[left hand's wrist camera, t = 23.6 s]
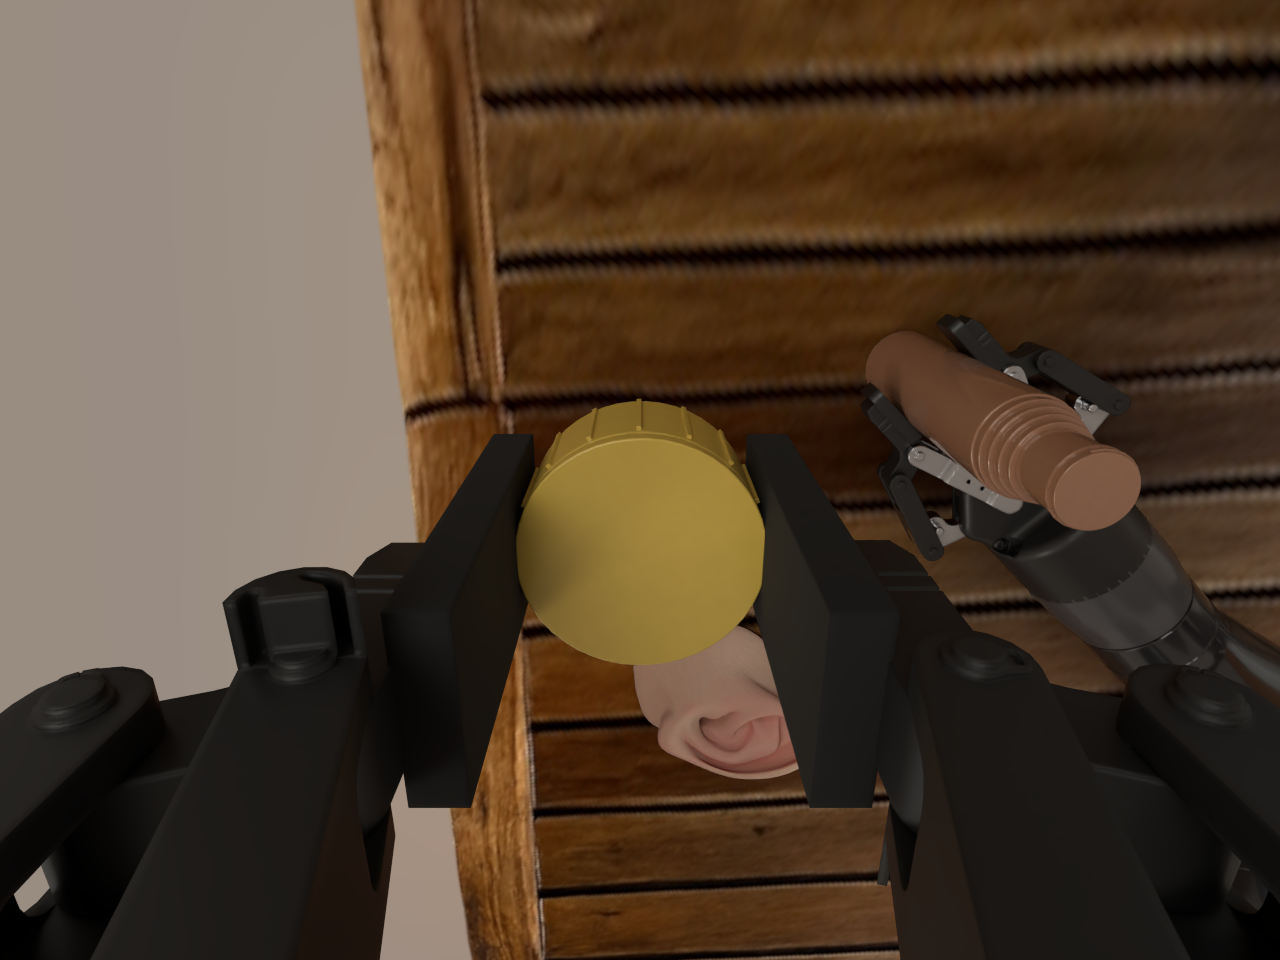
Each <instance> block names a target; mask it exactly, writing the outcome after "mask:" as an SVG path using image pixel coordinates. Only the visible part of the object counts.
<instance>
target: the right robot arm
mask: <svg viewBox="0 0 1280 960" xmlns="http://www.w3.org/2000/svg"><path fill="white" fill-rule="evenodd" d="M936 325H937V326H938V328H939V329H940V330H941V331H942V332H943V333H944V334H945V336H946V337H947V338H948V339H949V340H950V341H951V343H952V344H953V345H954V346H955V347H956V348H957V349H958V351H959V352H961V353H964V354H966V355H968V356H970V357H972V358H974V359H976V360H978V361H980V362H983V363H985V364H987V365H989V366H991V367H993V368H995V369H997V370H1000V371H1002V372H1004V373H1006V374H1008V375H1010V376H1012V377H1014V378H1016V379H1019V380H1021V381H1023V382H1025V383H1027V384H1028V382H1027V378H1029V377H1032V376H1034V375H1036V374H1039V375H1041V376H1043V377H1044V378H1046V379H1048V380H1049V381H1051V382H1052V383H1054V384H1056V385H1057V386H1059V387H1061V388H1062V389H1064V390H1066V391H1067V392H1069V394H1067V395H1066V397H1065V399H1066V404H1068V405H1069V406H1070V407H1071V408H1072V409H1074V410H1075V411H1076V412H1077V413H1078V415H1079V416H1080V417H1081V419H1082V421H1083V422H1084V423H1085V425H1086V427H1087V428H1088V429H1089V431H1090V433H1091V434H1092V435H1093V433H1094V432H1095V431H1096V430H1097V428H1098V427H1099V426H1100V425H1101V424H1102V422H1103V421H1104V420H1105V419H1106V417H1107V416H1108V415H1109V414H1111V415H1114V416H1118V415H1121V414H1123V413H1125V412H1126V411H1127V410H1128V408H1129V406H1130V399H1129V397H1128V396H1127V395H1125V394H1124V393H1122V392H1121V391H1119V390H1117V389H1116V388H1114V387H1113V386H1111V385H1109V384H1108V383H1106V382H1105V381H1103V380H1101V379H1100V378H1098V377H1097V376H1095V375H1093V374H1092V373H1090V372H1089V371H1087V370H1085V369H1084V368H1082V367H1081V366H1079V365H1077V364H1076V363H1074V362H1073V361H1071V360H1069V359H1068V358H1066V357H1064V356H1063V355H1061V354H1060V353H1058V352H1056V351H1054V350H1051V349H1049V348H1046V347H1043V346H1040V345H1038V344H1035V343H1032V342H1025V343H1023V344H1021V345H1020V346H1019V347H1018V348H1017V350H1015V351H1012V352H1010V353H1006V352H1005V351H1004V350H1003V349H1002V347H1001V346H1000V345H999V344H998V343H997V341H996V340H995V339H994V338H993V337H992V336H991V334H990V333H989V332H988V331H987V330H986V328H985V327H984V326H983V325H982V324H981V323H980V322H978V321H975V320H973V319H971V318H968V317H965V316H962V315H960V316H959V317H958V318H956V317H954V316H951V315H948V314H946V315H945V316H944V317H942V318H941V319H940V320H939V321H938V322H937V323H936ZM861 392H862V393H863V394H864V395H865V397H866V398H867V399H866V400H865V401H863V402H862V403H861V404H860V405H861V408H862V411H863V413H864V414H865V415H866V416H867V417H868V418H869V419H870V420H871V421H872V423H873V424H874V425H875V426H876V427H877V428H878V429H879V430H880V431H881V432H882V433H883V434H884V435H885V436H886V437H887V438H888V439H889V441H890V442H891V444H892V453H891V455H890V457H889V458H888V460H887V461H885V462H883V463H881V464H880V465H879V467H878V469H877V474H878V476H879V478H880V480H881V482H882V484H883V486H884V488H885V490H886V492H887V494H888V496H889V498H890V500H891V502H892V504H893V506H894V508H895V510H896V512H897V514H898V516H899V518H900V520H901V522H902V524H903V526H904V528H905V530H906V532H907V534H908V536H909V538H910V540H911V541H912V542H913V544H914V545H915V546H916V548H917V549H918V550H919V551H920V553H921V554H922V555H923V556H924V558H925V559H927V560H929V561H935V560H938V559H940V558H941V557H942V555H943V553H944V546H946V545H948V544H950V543H952V542H954V541H957V540H959V539H961V538H963V537H965V536H966V537H967V538H969V539H971V540H975V541H979V542H981V543H983V544H985V545H986V546H987V547H988V548H989V549H990V550H991V551H992V552H993V553H994V555H995V556H996V557H997V558H998V559H999V560H1000V561H1001V562H1002V563H1003V564H1004V565H1005V566H1006V567H1007V568H1008V569H1009V570H1010V571H1011V573H1012V574H1013V575H1014V576H1015V577H1016V578H1017V579H1018V580H1019V581H1020V582H1021V583H1022V584H1023V585H1024V586H1025V587H1026V588H1027V589H1028V591H1029V593H1030V594H1031V595H1032V597H1033V598H1034V599H1035V600H1036V601H1038V602H1040V603H1041V604H1042V605H1043V606H1044V607H1045V608H1046V609H1047V611H1048V612H1049V613H1050V614H1051V615H1052V616H1054V617H1055V618H1056V619H1057V620H1058V621H1059V622H1060V623H1061V624H1063V625H1064V626H1065V627H1067V628H1068V629H1069V630H1071V631H1072V632H1073V633H1074V634H1076V635H1077V636H1078V637H1079V638H1080V639H1081V640H1082V641H1083V642H1084V643H1085V644H1086V645H1087V646H1088V647H1089V648H1090V650H1091V651H1092V652H1093V653H1094V654H1095V655H1096V656H1097V657H1098V658H1099V659H1100V660H1101V662H1102V663H1103V664H1104V665H1105V666H1106V667H1107V668H1108V669H1109V670H1110V671H1111V672H1112V673H1113V674H1114V675H1115V676H1116V677H1117V678H1119V679H1120V680H1121V681H1123V682H1124V683H1125V684H1126V683H1127V680H1128V676H1129V674H1130V673H1132V672H1133V671H1134V670H1136V669H1137V668H1138V667H1139V666H1145V665H1151V664H1157V663H1163V664H1174V665H1189V666H1194V667H1199V669H1201V670H1202V669H1207V670H1210V671H1214V672H1217V673H1219V674H1221V675H1223V676H1224V677H1226V678H1228V679H1230V680H1233V681H1235V682H1238V683H1240V684H1242V685H1245V686H1246V687H1248V688H1250V689H1251V690H1253V691H1255V692H1256V693H1258V694H1259V695H1261V696H1263V697H1264V698H1266V699H1268V700H1269V701H1271V702H1272V703H1273V704H1275V705H1276V706H1277V707H1278V708H1280V646H1279V645H1277V644H1275V643H1274V642H1272V641H1270V640H1269V639H1267V638H1265V637H1263V636H1262V635H1260V634H1258V633H1257V632H1255V631H1253V630H1251V629H1250V628H1248V627H1246V626H1245V625H1243V624H1241V623H1240V622H1238V621H1237V620H1235V619H1234V618H1232V617H1230V616H1228V615H1227V614H1225V613H1223V612H1221V611H1220V610H1218V609H1217V608H1216V607H1215V606H1214V605H1213V603H1212V602H1211V601H1210V600H1209V599H1208V598H1207V597H1206V595H1205V594H1204V593H1203V592H1202V591H1201V589H1200V588H1199V587H1198V586H1197V585H1196V584H1195V582H1194V581H1193V580H1192V579H1191V578H1190V577H1189V575H1188V574H1187V573H1186V572H1185V570H1184V569H1183V567H1182V566H1181V564H1180V562H1179V560H1178V558H1177V557H1176V555H1175V553H1174V552H1173V550H1172V549H1171V547H1170V546H1169V545H1168V543H1167V542H1166V541H1165V540H1164V538H1163V537H1162V536H1161V535H1160V534H1159V532H1158V531H1157V530H1156V529H1155V528H1154V527H1153V525H1152V524H1151V523H1150V522H1149V521H1148V520H1147V518H1146V517H1145V516H1144V515H1143V514H1142V512H1141V511H1140V510H1139V509H1138V508H1137V507H1136V505H1135V504H1134V506H1133V507H1132V509H1131V510H1130V511H1129V512H1128V513H1127V514H1126V515H1125V516H1124V517H1123V518H1122V519H1120V520H1119V521H1118V522H1116V523H1114V524H1113V525H1110V526H1108V527H1106V528H1103V529H1099V530H1092V531H1084V530H1078V529H1073V528H1070V527H1067V526H1064V525H1062V524H1061V523H1060V522H1058V521H1057V520H1056V519H1054V518H1053V517H1052V515H1051V514H1050V512H1049V511H1048V510H1046V509H1045V508H1044V507H1042V506H1041V505H1040V504H1034V503H1029V502H1025V501H1019V500H1015V499H1010V498H1006V497H1004V496H1001V495H999V494H997V493H995V492H993V491H991V490H990V489H988V488H986V487H985V486H984V485H983V484H982V483H980V482H979V481H978V480H977V479H976V478H974V477H973V476H972V475H971V474H970V473H968V472H967V471H966V470H965V469H964V468H962V467H961V466H960V465H959V464H958V463H956V462H955V461H954V460H953V459H952V458H950V457H949V456H948V455H947V454H946V453H944V452H943V451H942V450H941V449H940V448H938V447H937V446H934V445H932V444H930V443H928V442H926V441H924V440H922V439H921V438H922V437H923V436H922V435H921V434H920V433H919V432H918V431H917V430H916V428H915V427H913V426H912V424H911V423H910V422H909V421H908V420H907V419H906V418H905V417H904V416H903V414H902V413H901V412H900V411H899V410H898V409H897V408H896V407H895V406H894V405H893V404H892V403H891V402H890V400H889V399H888V398H887V397H886V396H885V395H884V394H883V393H882V392H881V391H880V390H879V389H878V388H877V387H875V386H874V385H873V384H872V383H868V384H867V385H866V386H865V387H864V388H863V389H862V390H861ZM918 469H921V470H924V471H926V472H928V473H930V474H932V475H934V476H936V477H938V478H939V479H941V480H942V481H944V482H946V483H947V484H949V485H951V486H952V519H943V518H941V517H940V515H939V514H938V513H936V512H934V511H928V512H926V510H925V508H924V506H923V504H922V502H921V500H920V498H919V496H918V494H917V492H916V489H915V487H914V485H913V483H912V481H911V480H912V479H913V477H914V475H915V474H916V472H917V471H918ZM1232 886H1233V887H1234V888H1235V889H1236V890H1237V891H1238V892H1239V893H1240V895H1241V896H1242V897H1243V898H1244V899H1245V900H1246V901H1247V902H1249V903H1250V904H1251V905H1252V906H1253V907H1254V908H1256V909H1257V910H1259V909H1260V908H1261V907H1262V905H1263V903H1264V901H1265V898H1266V896H1267V893H1268V891H1269V890H1268V889H1267V888H1266V887H1265V886H1264V885H1263V884H1262V883H1261V882H1260V881H1259V880H1258V879H1257V878H1256V876H1255V875H1254V874H1253V873H1252V872H1251V871H1250V870H1249V869H1248V868H1247V867H1246V866H1245V865H1244V864H1243V863H1242V862H1241V863H1240V866H1239V868H1238V871H1237V873H1236V876H1235V878H1234V881H1233V883H1232Z"/></svg>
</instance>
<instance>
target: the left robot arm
mask: <svg viewBox="0 0 1280 960" xmlns="http://www.w3.org/2000/svg"><path fill="white" fill-rule="evenodd" d="M746 468H747V471H748V473H749V476H750V478H751V481H752V483H753V486H754V488H755V491H756V493H757V495H758V498H759V500H760V503H758V504H757V506H758V508H759V511H760V513H761V516H762V518H763V522H764V526H765V541H764V556H763V571H762V584H761V589H760V592H759V594H758V596H757V598H756V600H755V602H754V603H753V607H754V611H755V615H756V618H757V622H758V625H759V629H760V632H761V636H762V639H763V643H764V647H765V650H766V654H767V657H768V661H769V664H770V668H771V672H772V675H773V679H774V682H775V686H776V689H777V693H778V697H779V700H780V704H781V707H782V711H783V714H784V718H785V722H786V725H787V729H788V732H789V736H790V739H791V743H792V746H793V750H794V754H795V757H796V761H797V764H798V768H799V771H800V775H801V779H802V782H803V786H804V789H805V793H806V796H807V800H808V804H809V807H810V808H872V804H873V797H874V790H875V783H876V776H877V770H878V773H879V775H880V777H881V780H882V782H883V785H884V787H885V789H886V792H887V794H888V797H889V799H890V804H889V810H888V816H887V823H886V829H885V835H884V842H883V848H882V855H881V861H880V867H879V874H878V881H877V884H879V885H885V886H887V883H888V878H889V872H890V880H891V888H892V896H893V904H894V911H895V919H896V927H897V935H898V943H899V951H900V959H901V960H1280V708H1278V707H1277V706H1276V705H1275V704H1273V703H1272V702H1271V701H1269V700H1268V699H1266V698H1264V697H1263V696H1261V695H1259V694H1258V693H1256V692H1255V691H1253V690H1251V689H1250V688H1248V687H1246V686H1245V685H1242V684H1240V683H1238V682H1235V681H1233V680H1230V679H1228V678H1226V677H1224V676H1223V675H1221V674H1219V673H1217V672H1214V671H1210V670H1207V669H1202V670H1201V669H1199V667H1194V666H1189V665H1174V664H1163V663H1157V664H1151V665H1145V666H1139V667H1138V668H1137V669H1136V670H1134V671H1133V672H1132V673H1130V674H1129V676H1128V680H1127V683H1126V687H1125V690H1124V694H1123V697H1122V698H1119V697H1114V696H1109V695H1104V694H1098V693H1093V692H1088V691H1082V690H1077V689H1072V688H1067V687H1063V686H1059V685H1055V684H1051V683H1049V681H1048V679H1047V677H1046V675H1045V673H1044V671H1043V669H1042V668H1041V667H1040V666H1039V664H1038V663H1037V662H1036V661H1035V660H1034V659H1033V657H1032V656H1031V655H1030V654H1028V653H1027V652H1025V651H1024V650H1022V649H1020V648H1019V647H1017V646H1016V645H1014V644H1013V643H1011V642H1008V641H1006V640H1003V639H1001V638H998V637H995V636H993V635H990V634H987V633H982V632H977V631H973V630H972V629H971V628H970V626H969V625H968V624H967V622H966V621H965V620H964V619H963V617H962V616H961V615H960V613H959V612H958V611H957V610H956V608H955V607H954V606H953V605H952V603H951V602H950V601H949V599H948V598H947V597H946V596H945V594H944V593H943V592H942V591H939V587H938V585H937V584H936V583H935V581H934V580H933V579H932V578H931V576H928V572H927V571H926V570H925V569H924V567H923V566H922V565H921V563H920V562H919V561H918V560H917V558H916V557H915V556H914V555H913V554H911V553H909V552H908V551H906V550H904V549H903V548H901V547H899V546H898V545H896V544H894V543H893V542H891V541H889V540H854V539H853V538H852V536H851V535H850V533H849V531H848V530H847V528H846V527H845V525H844V524H843V522H842V520H841V519H840V517H839V516H838V514H837V513H836V511H835V509H834V508H833V506H832V505H831V503H830V502H829V500H828V498H827V497H826V495H825V494H824V492H823V491H822V489H821V487H820V486H819V484H818V483H817V481H816V480H815V478H814V476H813V475H812V473H811V472H810V470H809V469H808V467H807V465H806V464H805V462H804V461H803V459H802V458H801V456H800V454H799V453H798V451H797V450H796V448H795V447H794V445H793V443H792V442H791V440H790V439H789V437H788V436H787V434H747V449H746ZM534 472H535V459H534V441H533V434H494V435H493V436H492V438H491V439H490V441H489V443H488V444H487V446H486V447H485V449H484V450H483V452H482V454H481V455H480V457H479V458H478V460H477V462H476V463H475V465H474V466H473V468H472V469H471V471H470V473H469V474H468V476H467V477H466V479H465V480H464V482H463V484H462V485H461V487H460V488H459V490H458V491H457V493H456V495H455V496H454V498H453V499H452V501H451V502H450V504H449V506H448V507H447V509H446V510H445V512H444V513H443V515H442V517H441V518H440V520H439V521H438V523H437V524H436V526H435V528H434V529H433V531H432V532H431V534H430V535H429V537H428V539H427V540H426V542H425V543H390V544H389V545H387V546H385V547H384V548H382V549H380V550H379V551H377V552H375V553H374V554H372V555H371V556H369V557H367V558H366V559H365V561H364V562H363V563H362V565H361V566H360V567H359V568H358V570H357V571H356V572H355V574H354V575H353V577H352V576H351V575H349V574H348V573H347V572H345V571H342V570H337V569H333V568H328V567H303V568H297V569H291V570H286V571H280V572H277V573H273V574H270V575H267V576H264V577H261V578H258V579H255V580H253V581H251V582H250V583H248V584H246V585H244V586H242V587H240V588H238V589H236V590H235V591H234V592H233V593H232V594H231V595H230V596H229V597H228V598H227V599H226V600H225V601H224V602H223V607H224V611H225V616H226V620H227V624H228V629H229V633H230V637H231V642H232V646H233V650H234V654H235V659H236V663H237V667H238V671H237V673H236V675H235V677H234V679H233V681H232V683H231V684H230V686H229V687H227V688H223V689H219V690H215V691H210V692H205V693H200V694H194V695H189V696H184V697H179V698H173V699H168V700H163V701H159V699H158V695H157V692H156V688H155V685H154V681H153V678H152V677H151V676H149V675H148V674H147V673H146V672H144V671H143V670H141V669H134V668H128V667H111V668H95V669H90V670H84V671H83V672H82V673H79V672H76V673H73V674H70V675H66V676H64V677H62V678H60V679H59V680H57V681H55V682H52V683H50V684H48V685H45V686H43V687H41V688H38V689H36V690H35V691H33V692H31V693H30V694H28V695H27V696H25V697H23V698H22V699H20V700H19V701H17V702H15V703H14V704H12V705H11V706H10V707H8V708H7V709H6V710H4V711H3V712H2V713H0V960H380V953H381V945H382V937H383V929H384V921H385V913H386V905H387V897H388V889H389V882H390V874H391V865H392V858H393V850H394V842H395V830H394V823H393V817H392V810H391V802H392V799H393V797H394V794H395V792H396V789H397V787H398V785H399V782H400V780H401V777H402V775H403V773H404V780H405V787H406V793H407V800H408V807H409V808H471V805H472V802H473V798H474V795H475V791H476V787H477V784H478V780H479V777H480V773H481V770H482V766H483V762H484V759H485V755H486V752H487V748H488V745H489V741H490V737H491V734H492V730H493V727H494V723H495V720H496V716H497V712H498V709H499V705H500V702H501V698H502V695H503V691H504V687H505V684H506V680H507V677H508V673H509V670H510V666H511V663H512V659H513V655H514V652H515V648H516V645H517V641H518V638H519V634H520V630H521V627H522V623H523V620H524V616H525V613H526V609H527V605H528V600H527V599H526V597H525V595H524V592H523V590H522V587H521V585H520V582H519V577H518V564H517V548H516V534H517V529H518V524H519V521H520V518H521V515H522V513H523V510H524V508H523V507H521V505H522V502H523V499H524V497H525V494H526V492H527V489H528V487H529V484H530V482H531V479H532V477H533V474H534ZM1241 862H1242V863H1243V864H1244V865H1245V866H1246V867H1247V868H1248V869H1249V870H1250V871H1251V872H1252V873H1253V874H1254V875H1255V876H1256V878H1257V879H1258V880H1259V881H1260V882H1261V883H1262V884H1263V885H1264V886H1265V887H1266V888H1267V889H1268V890H1269V891H1268V893H1267V896H1266V898H1265V901H1264V903H1263V905H1262V907H1261V908H1260V909H1259V910H1257V909H1256V908H1254V907H1253V906H1252V905H1251V904H1250V903H1249V902H1247V901H1246V900H1245V899H1244V898H1243V897H1242V896H1241V895H1240V893H1239V892H1238V891H1237V890H1236V889H1235V888H1234V887H1233V886H1232V883H1233V881H1234V878H1235V876H1236V873H1237V871H1238V868H1239V866H1240V863H1241ZM40 866H42V869H43V872H44V874H45V877H46V879H47V882H48V884H49V887H50V888H49V889H48V891H47V892H46V893H45V894H44V895H43V896H42V897H41V898H40V900H39V901H38V902H37V903H35V904H34V905H33V906H32V907H30V908H29V909H28V910H27V911H25V912H23V911H22V910H20V908H19V906H18V904H17V901H16V899H15V896H14V893H15V892H16V891H17V890H18V889H19V888H20V887H21V886H22V885H23V884H24V883H25V882H26V881H27V880H28V879H29V877H30V876H31V875H32V874H33V873H34V872H35V871H36V870H37V869H38V868H39V867H40Z"/></svg>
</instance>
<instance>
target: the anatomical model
mask: <svg viewBox="0 0 1280 960" xmlns="http://www.w3.org/2000/svg"><path fill="white" fill-rule="evenodd" d="M633 669H634V678H635V687H636V693H637V696H638V700H639V703H640V706H641V709H642V711H643V713H644V715H645V717H646V718H647V719H648V721H650V722H651V723H652V724H653V725H655V726H657V727H658V728H659V731H658V741H659V744H660V746H661V748H662V749H663V750H665V751H666V752H668V753H669V754H671V755H674V756H676V757H678V758H681V759H683V760H686V761H688V762H690V763H693V764H695V765H697V766H699V767H702V768H704V769H707V770H709V771H712V772H714V773H717V774H720V775H724V776H728V777H732V778H740V779H763V778H771V777H777V776H781V775H784V774H787V773H790V772H792V771H795V770H797V769H799V768H798V764H797V761H796V757H795V754H794V750H793V746H792V743H791V739H790V736H789V732H788V729H787V725H786V722H785V718H784V714H783V711H782V707H781V704H780V700H779V697H778V693H777V689H776V686H775V682H774V679H773V675H772V672H771V668H770V664H769V661H768V657H767V654H766V650H765V647H764V643H763V640H762V639H761V638H760V637H759V636H757V635H756V634H754V633H753V632H751V631H749V630H747V629H745V628H743V627H740V626H736V627H735V628H734V629H733V630H732V631H731V632H730V633H728V634H727V635H726V636H725V637H724V638H723V639H721V640H720V641H718V642H717V643H715V644H714V645H712V646H711V647H709V648H707V649H705V650H703V651H701V652H699V653H697V654H695V655H692V656H689V657H686V658H684V659H681V660H677V661H672V662H668V663H662V664H654V665H634V668H633Z"/></svg>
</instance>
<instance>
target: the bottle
mask: <svg viewBox="0 0 1280 960" xmlns="http://www.w3.org/2000/svg"><path fill="white" fill-rule="evenodd" d="M866 380H867V383H872V384H873V385H874V386H875V387H877V388H878V389H879V390H880V391H881V392H882V393H883V394H884V395H885V396H886V397H887V398H888V399H889V400H890V402H891V403H892V404H893V405H894V406H895V407H896V408H897V409H898V410H899V411H900V412H901V413H902V414H903V416H904V417H905V418H906V419H907V420H908V421H909V422H910V423H911V424H912V426H913V427H915V428H916V429H917V430H918V431H919V432H920V433H922V434H923V435H924V436H925V437H926V438H928V439H929V440H930V441H931V442H932V443H934V444H935V445H936V446H937V447H938V448H940V449H941V450H942V451H943V452H944V453H946V454H947V455H948V456H949V457H950V458H952V459H953V460H954V461H955V462H956V463H958V464H959V465H960V466H961V467H962V468H964V469H965V470H966V471H967V472H968V473H970V474H971V475H972V476H973V477H974V478H976V479H977V480H978V481H979V482H980V483H982V484H983V485H984V486H985V487H986V488H988V489H990V490H991V491H993V492H995V493H997V494H999V495H1001V496H1004V497H1006V498H1010V499H1015V500H1019V501H1025V502H1029V503H1034V504H1040V505H1041V506H1042V507H1044V508H1045V509H1046V510H1048V511H1049V512H1050V514H1051V515H1052V517H1053V518H1054V519H1056V520H1057V521H1058V522H1060V523H1061V524H1062V525H1064V526H1067V527H1070V528H1073V529H1078V530H1084V531H1092V530H1099V529H1103V528H1106V527H1108V526H1110V525H1113V524H1114V523H1116V522H1118V521H1119V520H1120V519H1122V518H1123V517H1124V516H1125V515H1126V514H1127V513H1128V512H1129V511H1130V510H1131V509H1132V507H1133V506H1134V504H1135V503H1136V501H1137V498H1138V496H1139V493H1140V488H1141V476H1140V473H1139V469H1138V466H1137V465H1136V463H1135V462H1134V460H1133V459H1132V458H1131V457H1130V456H1128V455H1127V454H1126V453H1124V452H1122V451H1120V450H1118V449H1117V448H1114V447H1111V446H1109V445H1103V444H1101V443H1099V442H1097V441H1096V440H1095V439H1094V437H1093V436H1092V434H1091V433H1090V431H1089V429H1088V428H1087V427H1086V425H1085V423H1084V422H1083V421H1082V419H1081V417H1080V416H1079V415H1078V413H1077V412H1076V411H1075V410H1074V409H1072V408H1071V407H1070V406H1069V405H1068V404H1066V403H1065V402H1064V401H1062V400H1061V399H1059V398H1057V397H1054V396H1052V395H1050V394H1048V393H1046V392H1044V391H1042V390H1040V389H1038V388H1035V387H1033V386H1031V385H1029V384H1027V383H1025V382H1023V381H1021V380H1019V379H1016V378H1014V377H1012V376H1010V375H1008V374H1006V373H1004V372H1002V371H1000V370H997V369H995V368H993V367H991V366H989V365H987V364H985V363H983V362H980V361H978V360H976V359H974V358H972V357H970V356H968V355H966V354H964V353H961V352H959V351H957V350H955V349H953V348H951V347H949V346H947V345H945V344H942V343H940V342H938V341H936V340H934V339H932V338H930V337H928V336H926V335H923V334H921V333H919V332H915V331H899V332H895V333H893V334H890V335H888V336H886V337H885V338H884V339H882V340H881V341H880V342H879V343H878V344H877V345H876V346H875V347H874V348H873V350H872V351H871V353H870V355H869V357H868V360H867V363H866Z"/></svg>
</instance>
